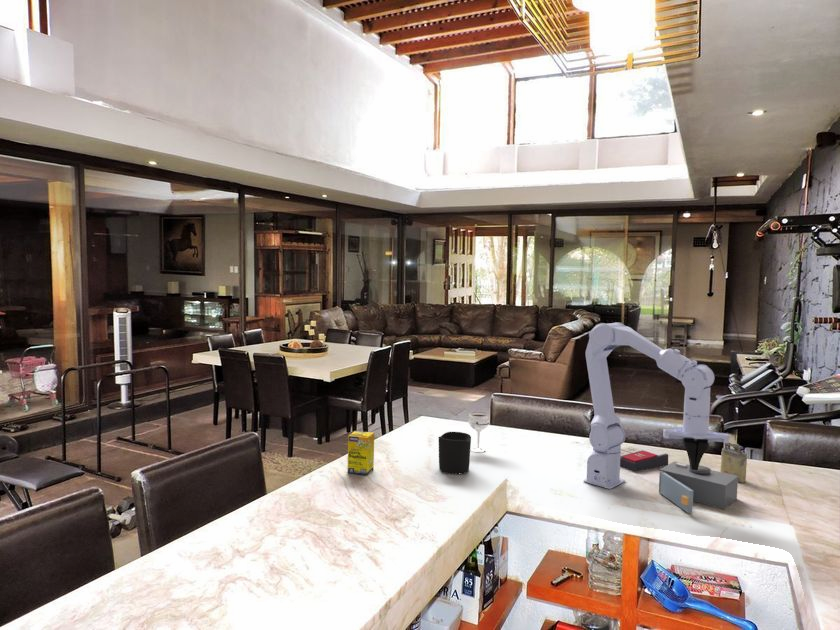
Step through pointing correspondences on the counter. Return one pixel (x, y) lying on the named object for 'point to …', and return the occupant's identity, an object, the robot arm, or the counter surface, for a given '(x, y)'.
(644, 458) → the calculator
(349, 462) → the supplement box
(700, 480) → the camera case
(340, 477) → the counter surface
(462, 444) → the pen holder
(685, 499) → the side door
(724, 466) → the lighter
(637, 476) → the counter surface
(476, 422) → the wineglass
